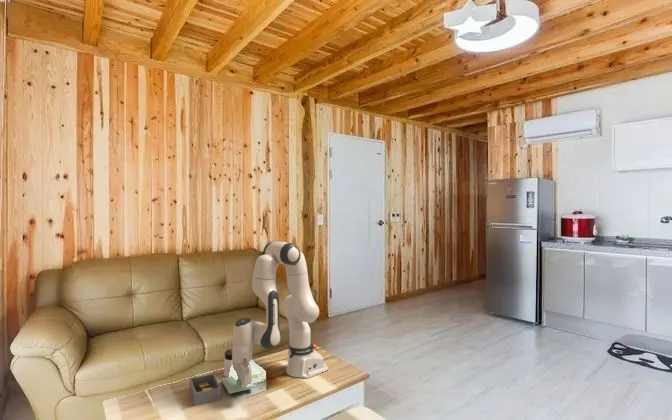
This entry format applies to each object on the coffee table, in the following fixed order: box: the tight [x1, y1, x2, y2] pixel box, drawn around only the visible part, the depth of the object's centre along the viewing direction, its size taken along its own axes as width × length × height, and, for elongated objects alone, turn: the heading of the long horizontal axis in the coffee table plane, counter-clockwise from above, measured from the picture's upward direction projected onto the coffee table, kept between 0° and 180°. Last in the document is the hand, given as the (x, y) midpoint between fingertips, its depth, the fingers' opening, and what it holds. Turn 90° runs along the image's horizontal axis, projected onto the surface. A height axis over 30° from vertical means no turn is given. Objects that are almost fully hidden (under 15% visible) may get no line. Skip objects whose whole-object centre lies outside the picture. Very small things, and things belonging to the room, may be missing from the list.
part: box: [198, 382, 209, 392], centre depth 164 cm, size 4×4×3 cm
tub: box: [188, 373, 222, 407], centre depth 161 cm, size 11×15×6 cm
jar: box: [223, 348, 233, 378], centre depth 181 cm, size 9×8×12 cm
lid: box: [220, 376, 256, 394], centre depth 168 cm, size 12×16×4 cm
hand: (241, 385), depth 162 cm, fingers closed on lid, 3 cm apart
